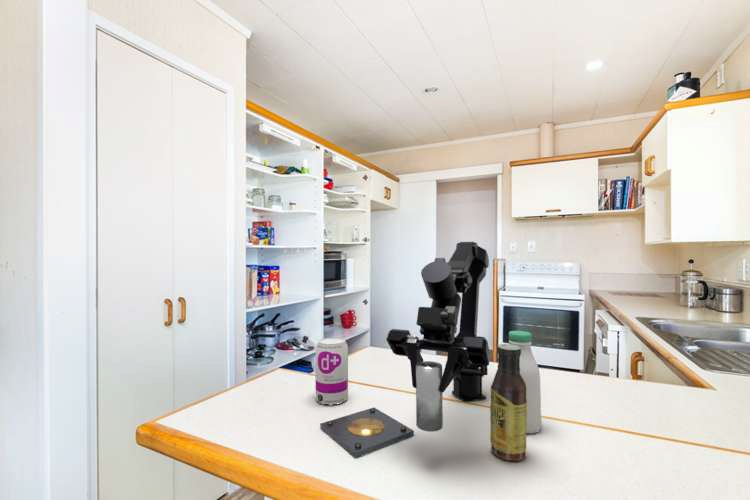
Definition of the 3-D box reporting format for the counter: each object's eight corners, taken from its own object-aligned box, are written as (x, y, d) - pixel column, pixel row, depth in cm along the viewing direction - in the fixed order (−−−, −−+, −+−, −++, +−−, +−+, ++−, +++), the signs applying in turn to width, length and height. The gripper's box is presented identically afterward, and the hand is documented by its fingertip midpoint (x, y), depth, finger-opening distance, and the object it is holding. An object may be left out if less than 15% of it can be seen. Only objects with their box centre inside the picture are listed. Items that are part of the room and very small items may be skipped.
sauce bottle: (485, 445, 68) (483, 341, 69) (516, 444, 69) (515, 340, 69) (500, 465, 62) (498, 350, 62) (534, 463, 62) (532, 349, 63)
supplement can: (342, 407, 86) (342, 345, 86) (310, 405, 88) (310, 343, 88) (351, 395, 94) (351, 337, 94) (322, 392, 96) (321, 336, 96)
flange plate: (374, 411, 84) (374, 405, 84) (413, 435, 72) (413, 428, 72) (320, 428, 76) (320, 421, 76) (355, 458, 64) (355, 450, 64)
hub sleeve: (434, 417, 65) (434, 359, 66) (447, 429, 61) (447, 366, 61) (412, 421, 64) (411, 362, 64) (423, 433, 60) (423, 369, 60)
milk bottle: (539, 421, 79) (537, 330, 79) (543, 437, 71) (541, 337, 72) (501, 416, 81) (500, 327, 82) (502, 431, 74) (501, 334, 74)
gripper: (389, 288, 71) (364, 358, 61) (486, 291, 63) (476, 373, 53) (404, 321, 78) (383, 389, 68) (493, 328, 70) (485, 406, 60)
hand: (427, 389), depth 62 cm, fingers closed on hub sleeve, 5 cm apart
